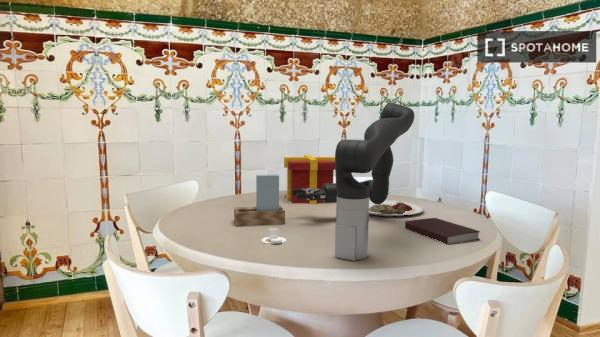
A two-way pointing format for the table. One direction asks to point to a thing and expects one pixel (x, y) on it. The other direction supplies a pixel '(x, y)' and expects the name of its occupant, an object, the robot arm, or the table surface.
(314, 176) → the gift box
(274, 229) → the teacup and saucer
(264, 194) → the cover panel
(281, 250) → the table surface
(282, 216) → the slot box
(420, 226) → the book
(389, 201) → the plated food
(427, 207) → the table surface
